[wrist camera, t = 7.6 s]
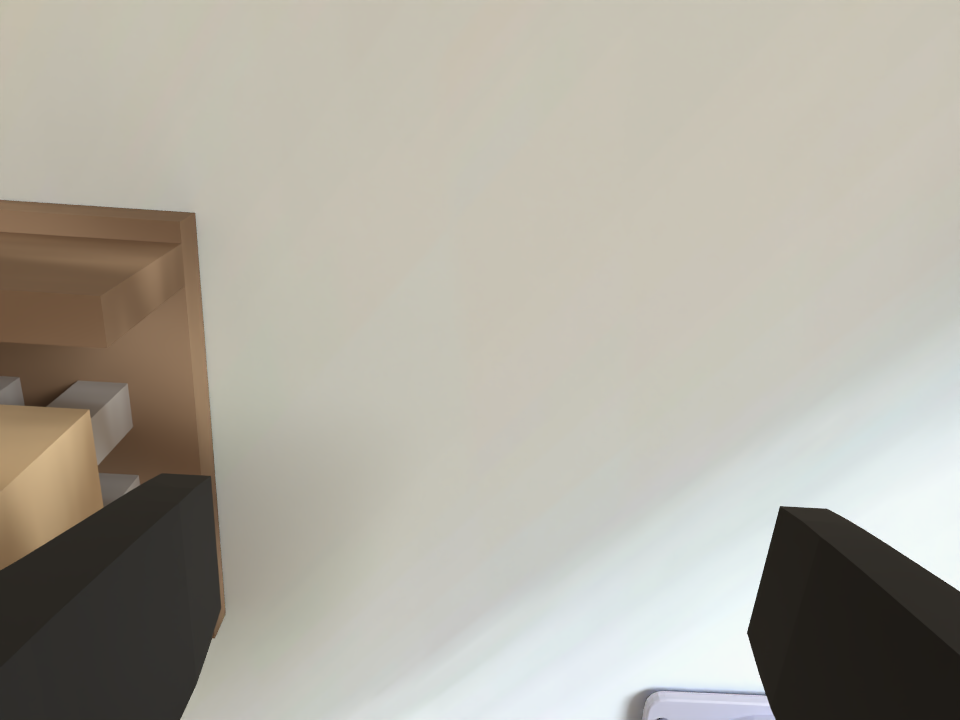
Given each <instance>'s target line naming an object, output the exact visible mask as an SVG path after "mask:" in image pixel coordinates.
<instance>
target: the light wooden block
mask: <svg viewBox="0 0 960 720" xmlns="http://www.w3.org/2000/svg"><path fill="white" fill-rule="evenodd" d="M102 508H103V500H102V493H101V486H100V479H99V472H98V465H97V458H96V451H95V444H94V438H93V431H92V424H91V417H90V410H89V409H71V408H54V407H36V406H18V405H1V404H0V570H2V569H4V568H5V567H7V566H9V565H11V564H12V563H14V562H16V561H17V560H19V559H21V558H23V557H24V556H26V555H27V554H29V553H31V552H32V551H34V550H36V549H37V548H39V547H40V546H42V545H44V544H45V543H47V542H49V541H50V540H52V539H53V538H55V537H57V536H58V535H60V534H62V533H63V532H65V531H66V530H68V529H70V528H71V527H73V526H75V525H76V524H78V523H79V522H81V521H83V520H84V519H86V518H87V517H89V516H91V515H92V514H94V513H95V512H97V511H99V510H100V509H102Z"/></svg>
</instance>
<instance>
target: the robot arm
mask: <svg viewBox="0 0 960 720" xmlns="http://www.w3.org/2000/svg"><path fill="white" fill-rule="evenodd" d="M220 611H221V596H220V584H219V571H218V558H217V545H216V533H215V520H214V507H213V494H212V482H211V476H204V475H186V474H167V473H161V474H159V475H157V476H156V477H154V478H152V479H150V480H148V481H146V482H144V483H143V484H141V485H139V486H138V487H136V488H134V489H133V490H131V491H129V492H128V493H126V494H124V495H123V496H121V497H119V498H118V499H116V500H115V501H113V502H111V503H110V504H108V505H107V506H105V507H103V508H102V509H100V510H99V511H97V512H95V513H94V514H92V515H91V516H89V517H87V518H86V519H84V520H83V521H81V522H79V523H78V524H76V525H75V526H73V527H71V528H70V529H68V530H66V531H65V532H63V533H62V534H60V535H58V536H57V537H55V538H53V539H52V540H50V541H49V542H47V543H45V544H44V545H42V546H40V547H39V548H37V549H36V550H34V551H32V552H31V553H29V554H27V555H26V556H24V557H23V558H21V559H19V560H17V561H16V562H14V563H12V564H11V565H9V566H7V567H5V568H4V569H2V570H0V720H180V719H181V717H182V714H183V712H184V710H185V708H186V706H187V704H188V701H189V699H190V697H191V695H192V693H193V690H194V688H195V686H196V684H197V681H198V678H199V675H200V672H201V669H202V666H203V664H204V661H205V658H206V655H207V652H208V649H209V646H210V642H211V639H212V636H213V633H214V630H215V627H216V623H217V620H218V617H219V614H220ZM747 634H748V637H749V641H750V644H751V648H752V651H753V654H754V658H755V661H756V665H757V668H758V671H759V675H760V678H761V681H762V684H763V687H764V690H765V693H766V696H764V695H741V694H719V693H696V692H674V691H658V692H655V693H653V694H651V695H650V696H649V697H648V698H647V700H646V702H645V706H644V711H643V716H642V720H656V719H658V718H662V719H659V720H960V591H958V590H957V589H955V588H954V587H952V586H951V585H949V584H947V583H946V582H944V581H943V580H941V579H940V578H938V577H937V576H935V575H934V574H932V573H931V572H929V571H928V570H926V569H924V568H923V567H921V566H920V565H918V564H917V563H915V562H914V561H912V560H911V559H909V558H908V557H906V556H904V555H903V554H901V553H900V552H898V551H897V550H895V549H894V548H892V547H891V546H889V545H888V544H886V543H884V542H883V541H881V540H880V539H878V538H876V537H875V536H873V535H872V534H870V533H869V532H867V531H865V530H864V529H862V528H860V527H859V526H857V525H855V524H854V523H852V522H850V521H849V520H847V519H845V518H843V517H842V516H840V515H838V514H836V513H834V512H832V511H830V510H828V509H821V508H802V507H783V506H780V508H779V512H778V516H777V520H776V524H775V528H774V531H773V535H772V539H771V543H770V547H769V551H768V554H767V558H766V562H765V566H764V570H763V574H762V578H761V581H760V585H759V589H758V593H757V597H756V601H755V604H754V608H753V612H752V616H751V620H750V624H749V627H748V631H747Z"/></svg>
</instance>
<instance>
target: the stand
mask: <svg viewBox="0 0 960 720" xmlns="http://www.w3.org/2000/svg"><path fill="white" fill-rule="evenodd" d="M0 404H1V405H18V406H36V407H54V408H71V409H89V410H90V417H91V424H92V431H93V438H94V444H95V451H96V458H97V465H98V472H99V479H100V486H101V493H102V500H103V507H105V506H107V505H108V504H110V503H111V502H113V501H115V500H116V499H118V498H119V497H121V496H123V495H124V494H126V493H128V492H129V491H131V490H133V489H134V488H136V487H138V486H139V485H141V484H143V483H144V482H146V481H148V480H150V479H152V478H154V477H156V476H157V475H159V474H161V473H167V474H186V475H204V476H211V482H212V494H213V507H214V520H215V533H216V545H217V558H218V571H219V584H220V596H221V611H220V614H219V617H218V620H217V623H216V627H215V630H214V633H213V636H212V638H215V637H216V635H217V632H218V630H219V628H220V625H221V623H222V621H223V619H224V616H225V601H224V588H223V574H222V561H221V548H220V535H219V522H218V509H217V495H216V482H215V469H214V456H213V443H212V429H211V416H210V403H209V390H208V377H207V364H206V350H205V337H204V324H203V311H202V298H201V285H200V271H199V258H198V245H197V232H196V219H195V213H188V212H173V211H158V210H143V209H128V208H112V207H97V206H82V205H67V204H52V203H37V202H22V201H7V200H0Z"/></svg>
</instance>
